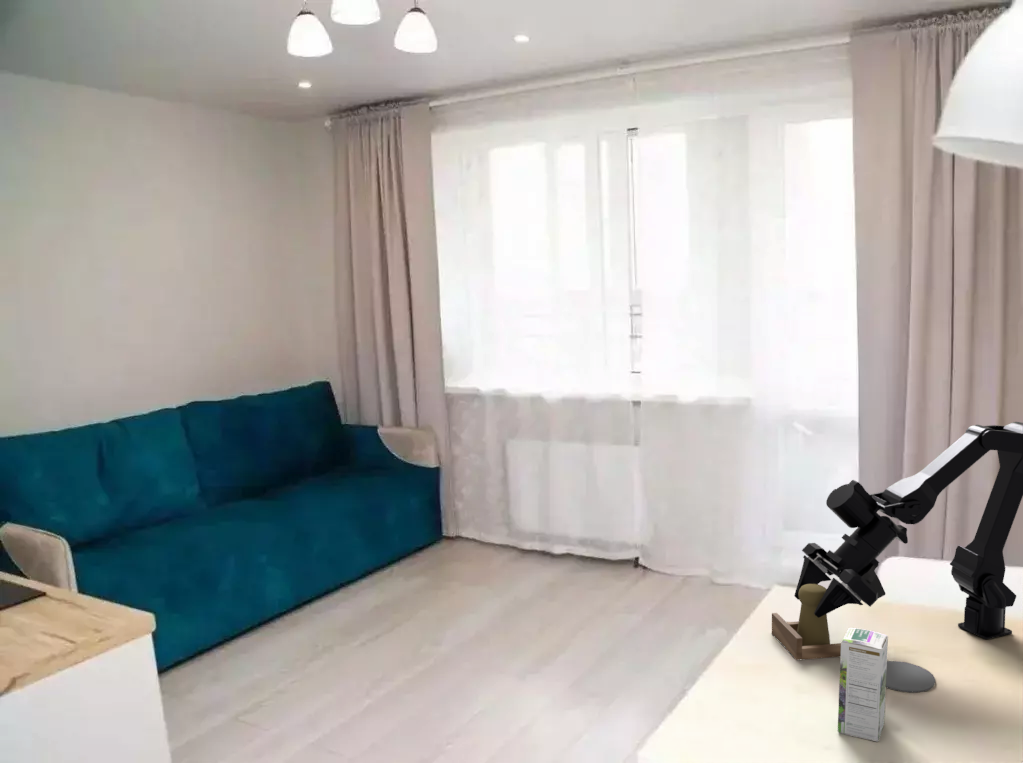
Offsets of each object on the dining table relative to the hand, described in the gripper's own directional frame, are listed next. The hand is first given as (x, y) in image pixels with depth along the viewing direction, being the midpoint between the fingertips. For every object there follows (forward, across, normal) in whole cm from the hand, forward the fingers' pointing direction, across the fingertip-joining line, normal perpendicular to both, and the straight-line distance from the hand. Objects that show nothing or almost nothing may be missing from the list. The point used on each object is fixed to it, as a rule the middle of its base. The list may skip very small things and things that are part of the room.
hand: (805, 606), depth 155 cm
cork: (+4, 0, -6) cm, 8 cm away
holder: (+4, 0, -6) cm, 7 cm away
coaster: (-2, -14, -12) cm, 19 cm away
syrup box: (+8, -28, -2) cm, 29 cm away
